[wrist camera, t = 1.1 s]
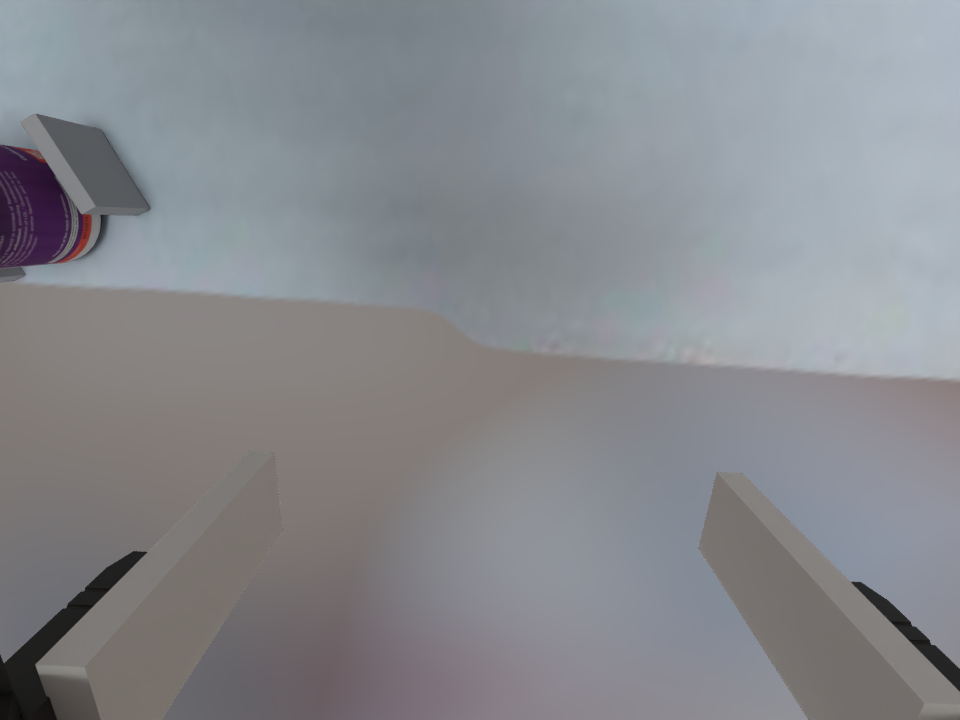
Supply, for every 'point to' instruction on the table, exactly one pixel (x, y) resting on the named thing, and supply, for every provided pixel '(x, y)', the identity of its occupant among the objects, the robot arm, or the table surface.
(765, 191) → the table surface
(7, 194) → the pill bottle
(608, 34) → the table surface
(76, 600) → the robot arm
